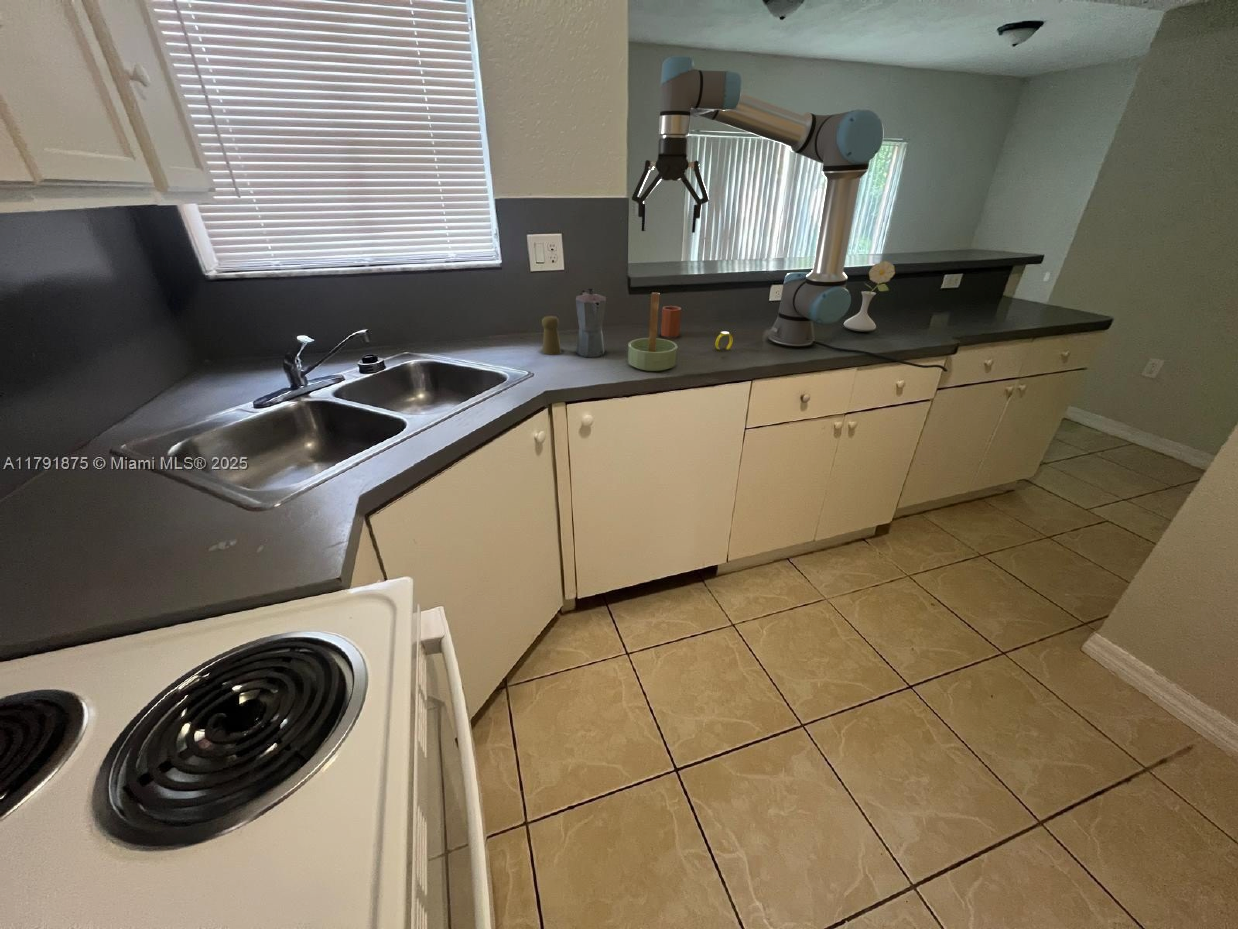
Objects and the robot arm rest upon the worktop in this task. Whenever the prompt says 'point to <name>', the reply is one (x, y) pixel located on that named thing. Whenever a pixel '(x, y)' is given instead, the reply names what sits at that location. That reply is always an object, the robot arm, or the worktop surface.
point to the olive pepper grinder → (551, 336)
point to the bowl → (652, 354)
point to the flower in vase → (870, 297)
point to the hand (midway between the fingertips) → (668, 231)
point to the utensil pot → (670, 321)
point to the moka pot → (590, 324)
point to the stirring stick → (653, 322)
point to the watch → (724, 335)
